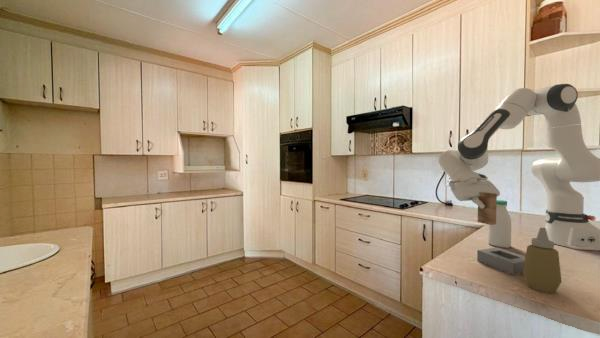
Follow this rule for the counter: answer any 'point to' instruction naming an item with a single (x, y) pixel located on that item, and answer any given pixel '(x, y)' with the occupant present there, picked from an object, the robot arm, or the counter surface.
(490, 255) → the grey hollow block
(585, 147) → the robot arm
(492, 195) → the wooden block
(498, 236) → the milk bottle
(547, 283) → the squeeze bottle
